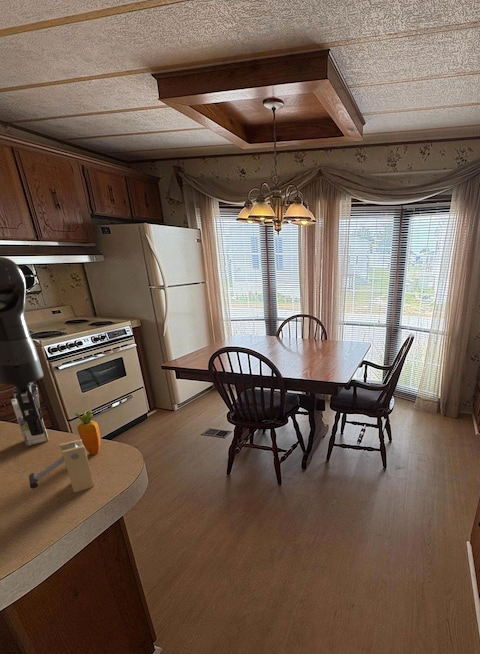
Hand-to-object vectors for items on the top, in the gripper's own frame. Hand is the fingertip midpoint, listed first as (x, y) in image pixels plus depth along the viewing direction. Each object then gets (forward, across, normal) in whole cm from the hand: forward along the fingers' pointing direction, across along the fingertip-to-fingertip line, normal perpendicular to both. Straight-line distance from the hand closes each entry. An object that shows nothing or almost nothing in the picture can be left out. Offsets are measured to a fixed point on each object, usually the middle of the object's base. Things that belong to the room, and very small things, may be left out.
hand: (37, 427), depth 78 cm
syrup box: (+19, -36, -4) cm, 41 cm away
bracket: (+19, 0, +5) cm, 20 cm away
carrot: (+19, -15, +10) cm, 26 cm away
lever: (+11, +1, +2) cm, 11 cm away
